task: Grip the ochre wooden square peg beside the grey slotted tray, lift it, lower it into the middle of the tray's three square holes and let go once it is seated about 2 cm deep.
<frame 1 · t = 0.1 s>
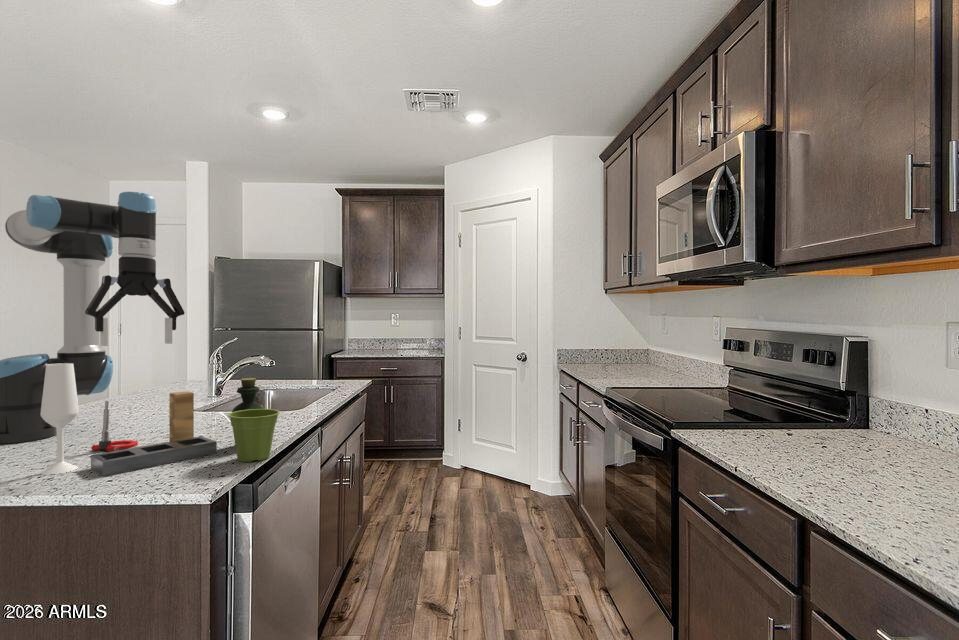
hand: (137, 344, 124), 28 cm above the counter, tool pointing down, fingers open, 13 cm apart
champagne flute: (60, 471, 115), on the counter
ochre peg: (181, 444, 138), on the counter
grey slotted tray: (157, 460, 123), on the counter
potion bottle: (248, 446, 137), on the counter
plant pot: (254, 459, 125), on the counter
tow hook: (117, 448, 135), on the counter
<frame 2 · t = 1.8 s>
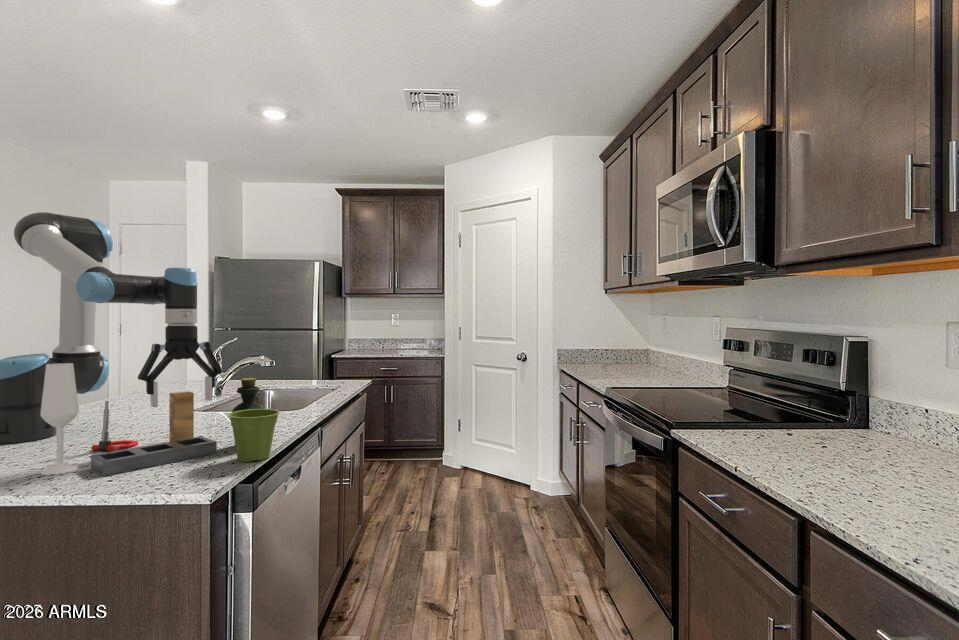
hand: (182, 403, 138), 11 cm above the counter, tool pointing down, fingers open, 13 cm apart
nothing on the counter moved.
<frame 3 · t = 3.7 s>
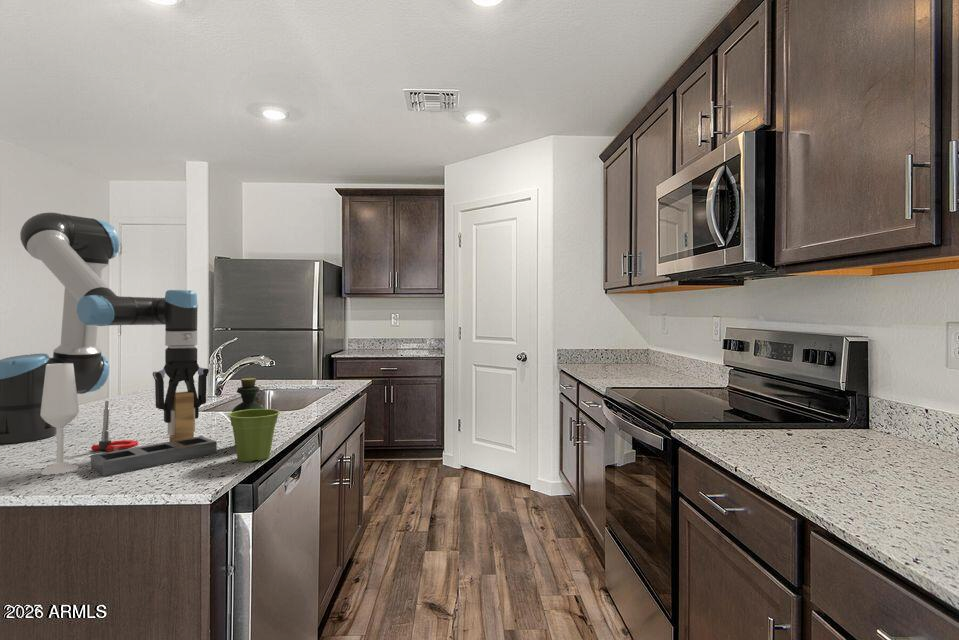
hand: (181, 432, 138), 3 cm above the counter, tool pointing down, fingers closed on ochre peg, 4 cm apart
ochre peg: (181, 444, 138), on the counter, touching gripper
everything else where it was.
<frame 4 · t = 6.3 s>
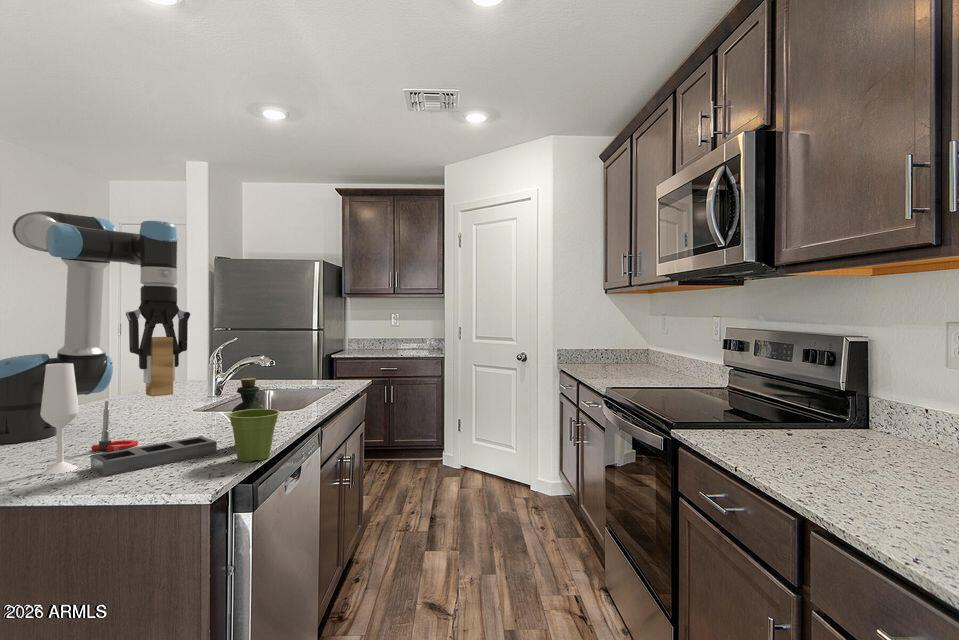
hand: (159, 381, 124), 19 cm above the counter, tool pointing down, fingers closed on ochre peg, 4 cm apart
ochre peg: (159, 394, 124), point 16 cm above the counter, touching gripper
everything else where it was.
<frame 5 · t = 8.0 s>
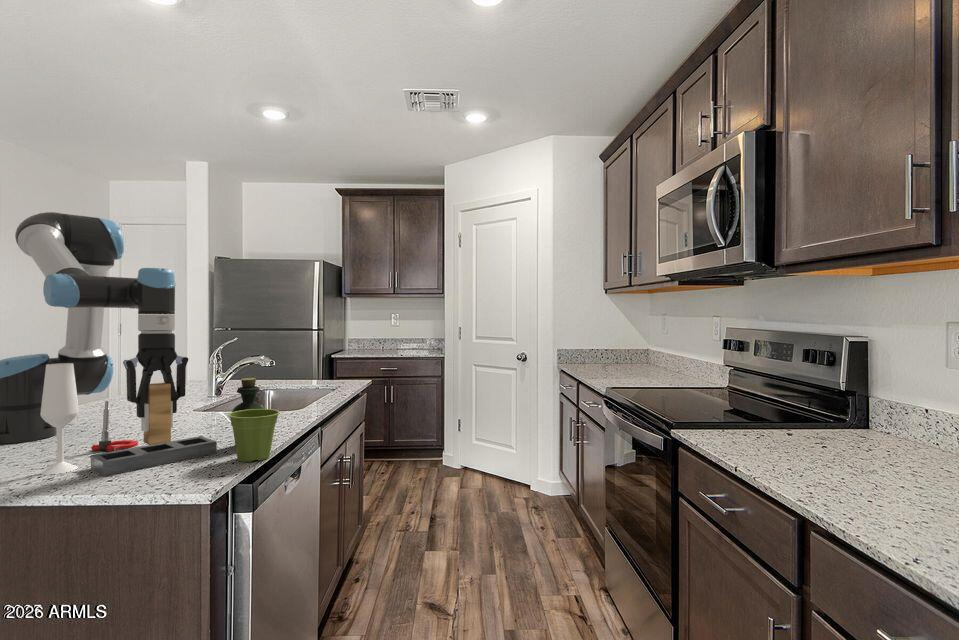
hand: (157, 428, 123), 8 cm above the counter, tool pointing down, fingers closed on ochre peg, 4 cm apart
ochre peg: (157, 441, 123), point 4 cm above the counter, touching gripper
everything else where it was.
when the fingers open (4 cm above the counter, at t = 9.3 s): ochre peg stays where it is, resting in grey slotted tray.
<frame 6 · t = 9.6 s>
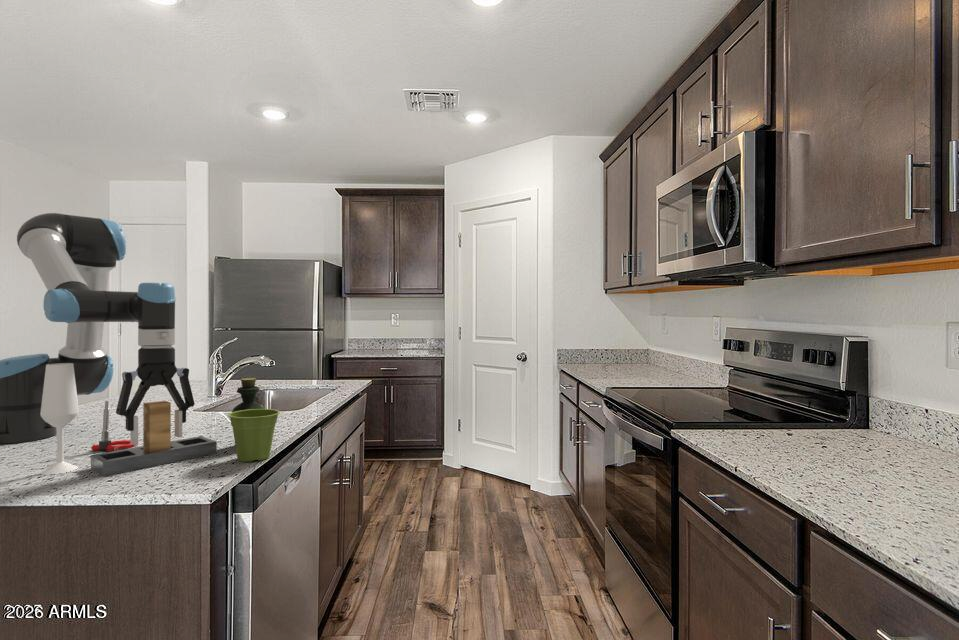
hand: (157, 440, 123), 5 cm above the counter, tool pointing down, fingers open, 9 cm apart
ochre peg: (157, 460, 123), resting in grey slotted tray
everything else where it was.
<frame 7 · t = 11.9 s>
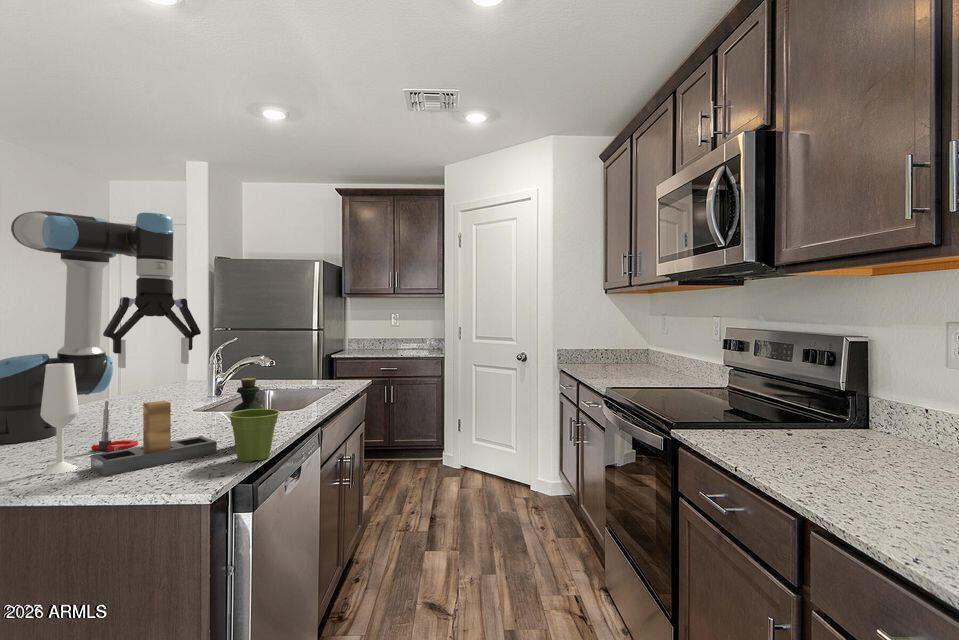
hand: (154, 365, 123), 23 cm above the counter, tool pointing down, fingers open, 13 cm apart
nothing on the counter moved.
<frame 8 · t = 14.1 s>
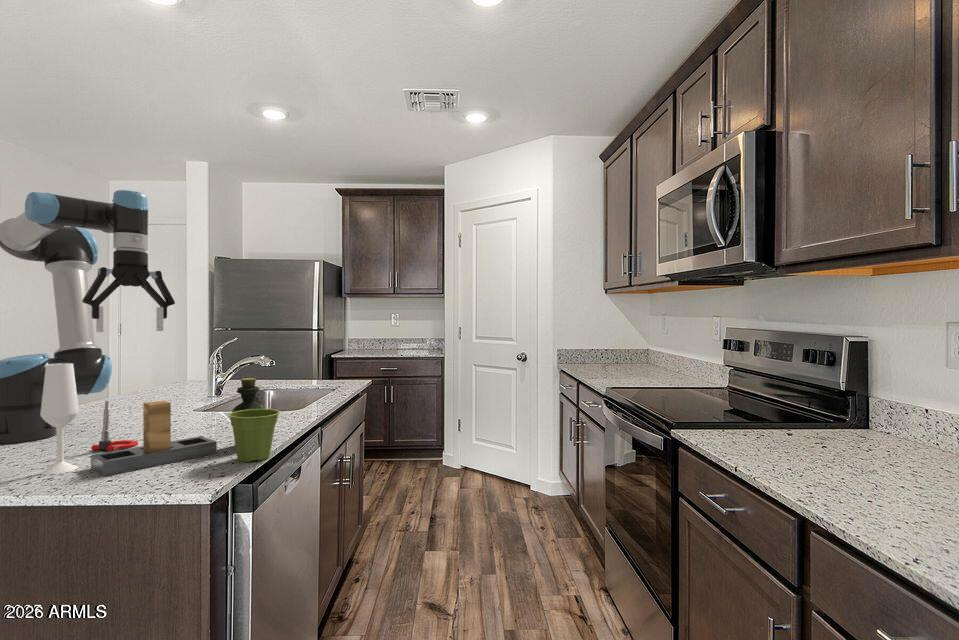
hand: (131, 331, 134), 31 cm above the counter, tool pointing down, fingers open, 13 cm apart
nothing on the counter moved.
at the end: ochre peg 0.0 cm off-centre on the grey slotted tray, point 0.0 cm above the grey slotted tray's base; ochre peg tilted 0°; the gripper is holding nothing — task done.
